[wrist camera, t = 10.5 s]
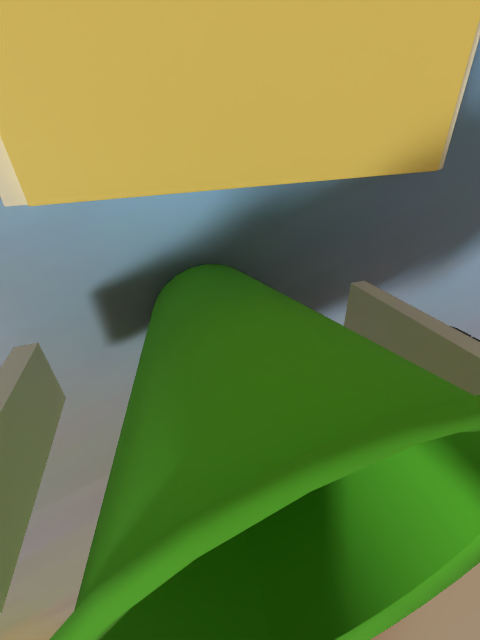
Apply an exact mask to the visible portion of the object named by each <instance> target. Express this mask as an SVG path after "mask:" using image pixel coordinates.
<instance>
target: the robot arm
mask: <svg viewBox="0 0 480 640" xmlns="http://www.w3.org/2000/svg"><path fill="white" fill-rule="evenodd" d="M344 327H346V328H348V329H350V330H352V331H354V332H356V333H357V334H359V335H361V336H363V337H365V338H367V339H369V340H371V341H373V342H374V343H376V344H378V345H380V346H382V347H384V348H386V349H388V350H390V351H391V352H393V353H395V354H397V355H399V356H401V357H403V358H405V359H406V360H408V361H410V362H412V363H414V364H416V365H418V366H420V367H422V368H423V369H425V370H427V371H429V372H431V373H433V374H435V375H437V376H439V377H440V378H442V379H444V380H446V381H448V382H450V383H452V384H454V385H455V386H457V387H459V388H461V389H463V390H465V391H467V392H469V393H471V394H472V395H474V396H475V395H480V340H478V339H476V338H474V337H471V335H469V334H467V333H465V332H463V331H461V330H459V329H457V328H455V327H452V326H449V325H447V324H445V323H443V322H441V321H439V320H437V319H436V318H434V317H432V316H430V315H428V314H426V313H424V312H422V311H421V310H419V309H417V308H415V307H413V306H411V305H409V304H407V303H406V302H404V301H402V300H400V299H398V298H396V297H394V296H392V295H391V294H389V293H387V292H385V291H383V290H381V289H379V288H377V287H376V286H374V285H372V284H370V283H368V282H366V281H360V282H355V283H351V285H350V291H349V298H348V304H347V310H346V316H345V322H344ZM65 399H66V397H65V395H64V393H63V391H62V389H61V387H60V385H59V383H58V381H57V379H56V377H55V375H54V373H53V371H52V369H51V367H50V365H49V363H48V361H47V359H46V357H45V355H44V353H43V351H42V349H41V347H40V345H39V343H33V344H28V345H22V346H17V347H14V348H13V349H12V351H11V352H10V354H9V355H8V357H7V358H6V360H5V361H4V363H3V364H2V366H1V367H0V614H1V613H2V610H3V606H4V603H5V600H6V596H7V593H8V590H9V586H10V583H11V580H12V576H13V573H14V570H15V566H16V563H17V559H18V556H19V553H20V549H21V546H22V543H23V539H24V536H25V533H26V529H27V526H28V523H29V519H30V516H31V513H32V509H33V506H34V503H35V499H36V496H37V492H38V489H39V486H40V482H41V479H42V476H43V472H44V469H45V466H46V462H47V459H48V456H49V452H50V449H51V446H52V442H53V439H54V435H55V432H56V429H57V425H58V422H59V419H60V415H61V412H62V409H63V405H64V402H65Z"/></svg>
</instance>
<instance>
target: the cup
mask: <svg viewBox="0 0 480 640" xmlns="http://www.w3.org/2000/svg"><path fill="white" fill-rule="evenodd" d="M479 562H480V395H475V396H474V395H472V394H471V393H469V392H467V391H465V390H463V389H461V388H459V387H457V386H455V385H454V384H452V383H450V382H448V381H446V380H444V379H442V378H440V377H439V376H437V375H435V374H433V373H431V372H429V371H427V370H425V369H423V368H422V367H420V366H418V365H416V364H414V363H412V362H410V361H408V360H406V359H405V358H403V357H401V356H399V355H397V354H395V353H393V352H391V351H390V350H388V349H386V348H384V347H382V346H380V345H378V344H376V343H374V342H373V341H371V340H369V339H367V338H365V337H363V336H361V335H359V334H357V333H356V332H354V331H352V330H350V329H348V328H346V327H344V326H342V325H341V324H339V323H337V322H335V321H333V320H331V319H329V318H327V317H325V316H324V315H322V314H320V313H318V312H316V311H314V310H312V309H310V308H308V307H307V306H305V305H303V304H301V303H299V302H297V301H295V300H293V299H292V298H290V297H288V296H286V295H284V294H282V293H280V292H278V291H276V290H275V289H273V288H271V287H269V286H267V285H265V284H263V283H261V282H259V281H258V280H256V279H254V278H252V277H250V276H248V275H246V274H244V273H242V272H241V271H239V270H237V269H235V268H233V267H230V266H225V265H221V264H204V265H200V266H196V267H192V268H189V269H187V270H185V271H183V272H182V273H180V274H178V275H176V276H175V277H174V278H173V279H172V280H171V281H169V282H168V283H167V284H166V285H165V286H164V288H163V289H162V291H161V292H160V294H159V295H158V297H157V299H156V302H155V305H154V308H153V311H152V315H151V319H150V322H149V326H148V330H147V334H146V338H145V342H144V345H143V349H142V353H141V357H140V361H139V365H138V368H137V372H136V376H135V380H134V384H133V388H132V392H131V395H130V399H129V403H128V407H127V411H126V415H125V418H124V422H123V426H122V430H121V434H120V438H119V441H118V445H117V449H116V453H115V457H114V461H113V465H112V468H111V472H110V476H109V480H108V484H107V488H106V491H105V495H104V499H103V503H102V507H101V511H100V514H99V518H98V522H97V526H96V530H95V534H94V537H93V541H92V545H91V549H90V553H89V557H88V561H87V564H86V568H85V572H84V576H83V580H82V584H81V587H80V591H79V595H78V599H77V603H76V607H75V610H74V612H73V613H72V615H71V616H70V617H69V618H68V619H67V620H66V621H65V623H64V624H63V625H62V626H61V627H60V628H59V629H58V630H57V632H56V633H55V634H54V635H53V636H52V637H51V638H50V640H370V639H371V638H373V637H375V636H377V635H378V634H380V633H381V632H383V631H385V630H386V629H388V628H389V627H391V626H393V625H394V624H396V623H397V622H399V621H400V620H401V619H403V618H404V617H406V616H407V615H409V614H410V613H412V612H413V611H415V610H416V609H418V608H419V607H421V606H422V605H424V604H425V603H427V602H428V601H429V600H431V599H432V598H434V597H435V596H436V595H438V594H439V593H440V592H442V591H443V590H444V589H446V588H447V587H448V586H450V585H451V584H453V583H454V582H455V581H457V580H458V579H459V578H461V577H462V576H463V575H464V574H465V573H467V572H468V571H469V570H470V569H472V568H473V567H474V566H476V565H477V564H478V563H479Z"/></svg>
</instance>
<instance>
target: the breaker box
mask: <svg viewBox="0 0 480 640" xmlns="http://www.w3.org/2000/svg"><path fill="white" fill-rule="evenodd" d="M479 38H480V0H0V197H1V199H2V201H3V204H4V206H16V205H28V206H36V205H48V204H59V203H71V202H82V201H94V200H106V199H117V198H129V197H140V196H152V195H163V194H175V193H186V192H198V191H209V190H221V189H232V188H244V187H255V186H267V185H278V184H290V183H301V182H313V181H324V180H336V179H347V178H359V177H370V176H382V175H393V174H405V173H416V172H428V171H438V169H442V168H443V165H444V161H445V158H446V154H447V151H448V147H449V144H450V140H451V137H452V133H453V130H454V126H455V122H456V119H457V115H458V112H459V108H460V105H461V101H462V98H463V94H464V91H465V87H466V84H467V80H468V76H469V73H470V69H471V66H472V62H473V59H474V55H475V52H476V48H477V45H478V41H479Z"/></svg>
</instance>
